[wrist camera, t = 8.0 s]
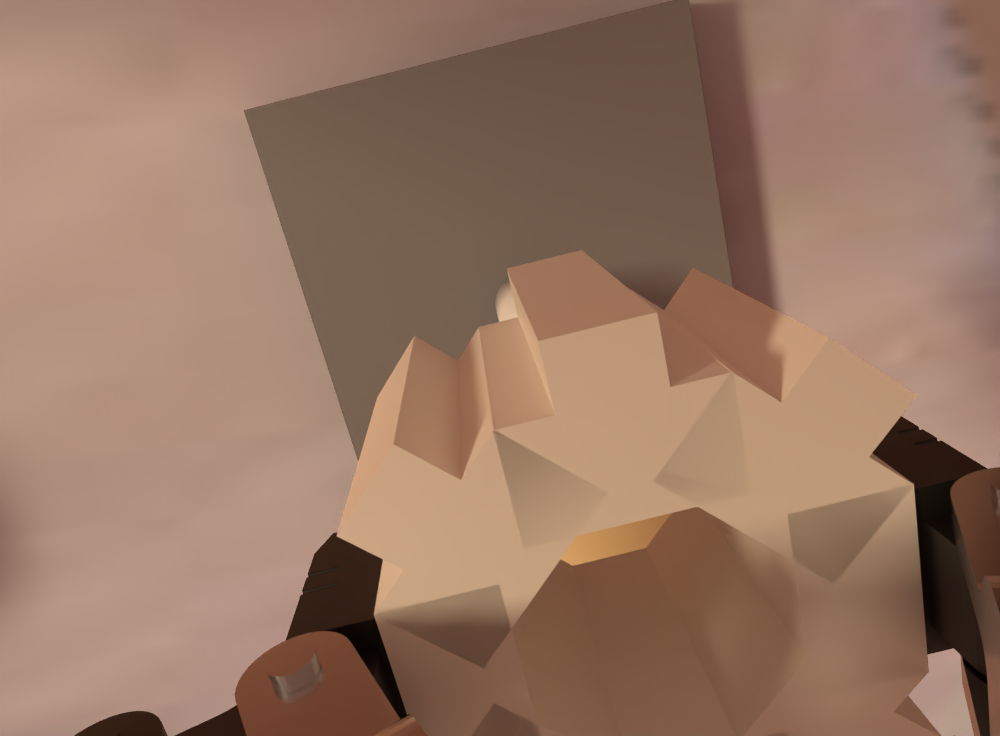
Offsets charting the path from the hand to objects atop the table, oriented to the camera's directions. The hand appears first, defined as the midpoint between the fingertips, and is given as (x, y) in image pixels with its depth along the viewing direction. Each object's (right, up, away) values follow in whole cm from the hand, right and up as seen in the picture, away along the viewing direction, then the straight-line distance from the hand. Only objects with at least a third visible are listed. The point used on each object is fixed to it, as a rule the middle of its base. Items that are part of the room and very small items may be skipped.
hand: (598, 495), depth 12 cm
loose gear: (0, 0, +1) cm, 1 cm away
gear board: (0, +1, +16) cm, 16 cm away
